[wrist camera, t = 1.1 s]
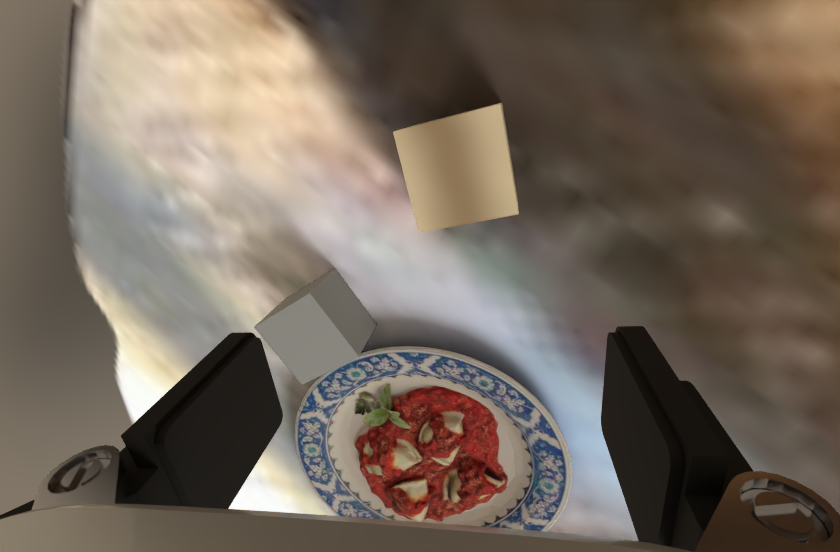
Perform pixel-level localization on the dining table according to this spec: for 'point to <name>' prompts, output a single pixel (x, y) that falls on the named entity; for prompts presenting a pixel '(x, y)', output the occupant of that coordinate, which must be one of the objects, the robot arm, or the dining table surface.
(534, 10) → the dining table surface
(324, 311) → the slate block
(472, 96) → the dining table surface
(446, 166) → the maple cube
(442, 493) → the ceramic plate
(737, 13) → the dining table surface
